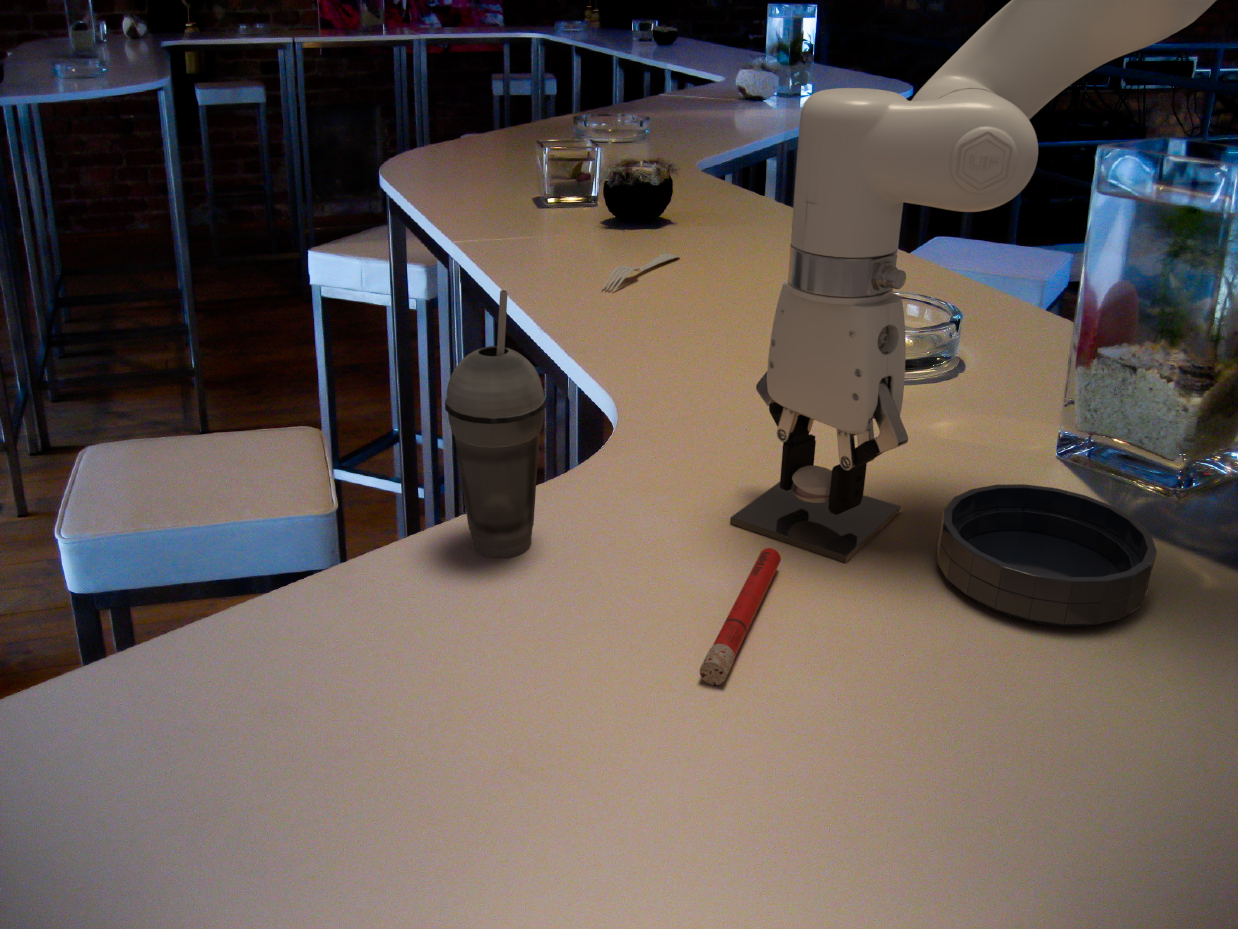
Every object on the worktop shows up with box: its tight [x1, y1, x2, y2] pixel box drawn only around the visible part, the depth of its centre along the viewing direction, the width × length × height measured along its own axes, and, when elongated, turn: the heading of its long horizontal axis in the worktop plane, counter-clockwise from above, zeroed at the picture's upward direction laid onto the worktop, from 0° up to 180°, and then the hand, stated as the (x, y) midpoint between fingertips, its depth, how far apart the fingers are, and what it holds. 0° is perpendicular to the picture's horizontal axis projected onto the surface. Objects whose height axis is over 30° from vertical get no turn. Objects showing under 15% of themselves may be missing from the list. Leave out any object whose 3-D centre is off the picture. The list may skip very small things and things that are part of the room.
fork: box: [601, 253, 681, 292], centre depth 151 cm, size 3×21×3 cm, turn 152°
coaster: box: [729, 481, 901, 564], centre depth 87 cm, size 10×10×1 cm
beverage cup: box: [444, 289, 547, 559], centre depth 78 cm, size 7×7×20 cm
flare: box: [698, 547, 782, 686], centre depth 73 cm, size 2×15×2 cm, turn 159°
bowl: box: [936, 483, 1158, 628], centre depth 78 cm, size 14×14×4 cm
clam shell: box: [791, 465, 832, 503], centre depth 85 cm, size 4×5×2 cm
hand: (819, 494), depth 86 cm, fingers closed on clam shell, 4 cm apart
